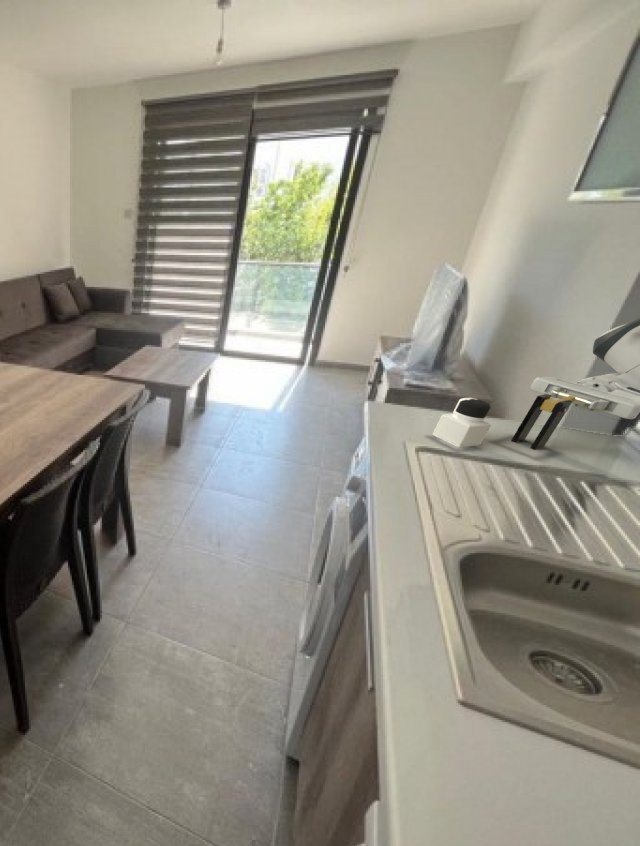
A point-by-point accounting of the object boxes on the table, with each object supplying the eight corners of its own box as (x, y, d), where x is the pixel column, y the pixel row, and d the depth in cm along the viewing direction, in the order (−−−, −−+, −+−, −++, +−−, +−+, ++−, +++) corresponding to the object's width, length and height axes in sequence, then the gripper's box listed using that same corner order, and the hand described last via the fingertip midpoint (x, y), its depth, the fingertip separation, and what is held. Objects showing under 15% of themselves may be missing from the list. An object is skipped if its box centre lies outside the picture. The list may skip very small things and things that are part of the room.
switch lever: (557, 397, 122) (562, 388, 121) (586, 405, 118) (591, 397, 116) (531, 406, 118) (536, 397, 117) (559, 415, 114) (564, 406, 112)
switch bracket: (513, 438, 127) (542, 389, 120) (556, 453, 120) (589, 403, 113) (492, 443, 123) (521, 394, 116) (535, 460, 116) (568, 408, 109)
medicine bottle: (477, 449, 119) (502, 405, 114) (456, 452, 118) (480, 407, 112) (450, 436, 125) (472, 394, 120) (429, 438, 124) (450, 395, 118)
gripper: (552, 368, 131) (526, 373, 125) (659, 396, 115) (635, 403, 109) (539, 390, 134) (513, 395, 128) (642, 420, 118) (617, 427, 112)
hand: (570, 399), depth 119 cm, fingers closed on switch lever, 5 cm apart
